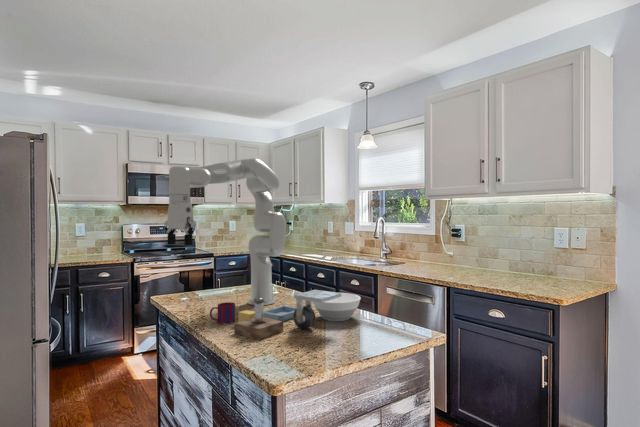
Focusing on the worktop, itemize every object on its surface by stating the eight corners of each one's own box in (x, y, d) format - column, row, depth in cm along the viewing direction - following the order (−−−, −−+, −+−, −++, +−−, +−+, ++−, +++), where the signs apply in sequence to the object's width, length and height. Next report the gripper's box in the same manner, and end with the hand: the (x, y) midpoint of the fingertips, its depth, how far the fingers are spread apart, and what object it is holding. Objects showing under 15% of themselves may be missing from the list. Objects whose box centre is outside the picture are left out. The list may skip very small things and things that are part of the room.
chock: (246, 323, 156) (246, 310, 156) (257, 325, 152) (257, 312, 152) (238, 325, 153) (238, 312, 153) (249, 328, 149) (249, 314, 149)
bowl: (370, 317, 163) (370, 296, 163) (339, 327, 149) (339, 305, 149) (334, 309, 176) (333, 290, 176) (301, 318, 162) (301, 297, 162)
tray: (283, 311, 174) (283, 305, 174) (303, 314, 167) (303, 308, 167) (260, 318, 163) (260, 311, 163) (280, 322, 156) (280, 315, 156)
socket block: (259, 325, 152) (259, 316, 152) (283, 331, 145) (283, 321, 145) (234, 333, 142) (234, 323, 142) (258, 339, 135) (258, 329, 135)
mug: (237, 322, 157) (237, 304, 157) (212, 326, 151) (212, 308, 151) (232, 318, 162) (231, 301, 162) (207, 322, 157) (206, 304, 157)
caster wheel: (307, 322, 156) (307, 288, 156) (341, 329, 146) (341, 293, 146) (287, 329, 146) (286, 293, 146) (321, 337, 137) (321, 299, 137)
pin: (259, 330, 146) (259, 296, 146) (266, 331, 144) (266, 298, 144) (251, 332, 143) (251, 298, 143) (259, 334, 141) (258, 299, 141)
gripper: (203, 199, 153) (203, 245, 153) (173, 200, 162) (173, 243, 162) (186, 198, 146) (187, 246, 146) (156, 199, 156) (156, 244, 156)
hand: (179, 244), depth 154 cm, fingers open, 9 cm apart
